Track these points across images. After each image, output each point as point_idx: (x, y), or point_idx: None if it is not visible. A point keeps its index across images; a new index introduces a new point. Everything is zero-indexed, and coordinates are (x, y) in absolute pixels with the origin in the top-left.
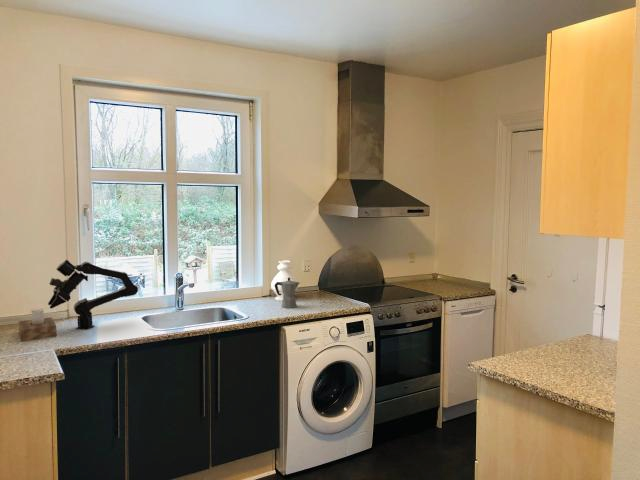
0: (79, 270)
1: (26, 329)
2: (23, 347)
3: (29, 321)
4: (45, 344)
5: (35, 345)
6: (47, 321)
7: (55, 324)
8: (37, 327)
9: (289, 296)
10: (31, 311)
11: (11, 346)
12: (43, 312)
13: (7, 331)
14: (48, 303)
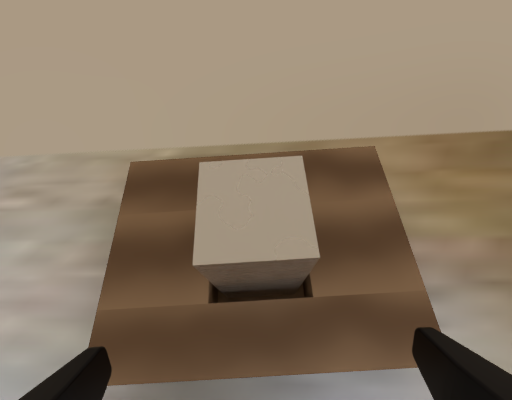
0: None
1: (125, 189)
2: (44, 207)
3: (340, 199)
4: (4, 300)
5: (31, 253)
6: (282, 317)
7: (120, 384)
8: (121, 245)
9: None
10: (253, 162)
11: (102, 167)
12: (197, 269)
13: (384, 142)
14: (422, 337)
